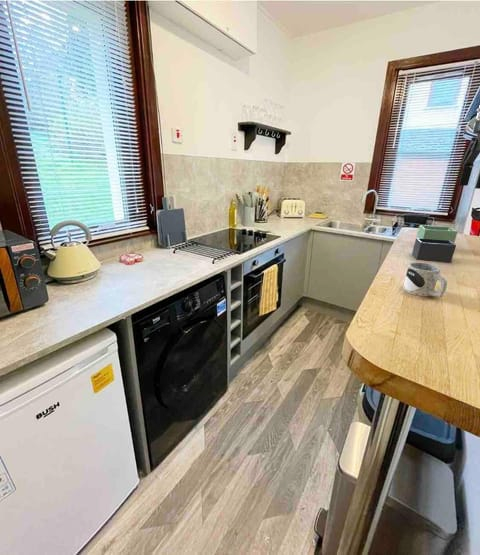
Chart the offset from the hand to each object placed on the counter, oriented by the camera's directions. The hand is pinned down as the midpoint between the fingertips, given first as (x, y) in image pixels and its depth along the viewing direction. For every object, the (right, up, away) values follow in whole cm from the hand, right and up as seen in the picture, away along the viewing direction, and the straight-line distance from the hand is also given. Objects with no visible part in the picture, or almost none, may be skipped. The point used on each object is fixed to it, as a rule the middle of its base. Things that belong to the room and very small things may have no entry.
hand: (471, 187), depth 97 cm
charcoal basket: (-17, -26, -3) cm, 31 cm away
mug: (-36, -37, -28) cm, 59 cm away
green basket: (-9, -21, +7) cm, 24 cm away
